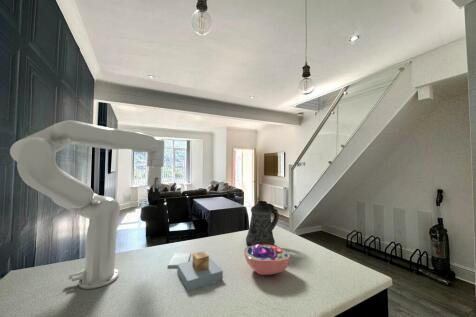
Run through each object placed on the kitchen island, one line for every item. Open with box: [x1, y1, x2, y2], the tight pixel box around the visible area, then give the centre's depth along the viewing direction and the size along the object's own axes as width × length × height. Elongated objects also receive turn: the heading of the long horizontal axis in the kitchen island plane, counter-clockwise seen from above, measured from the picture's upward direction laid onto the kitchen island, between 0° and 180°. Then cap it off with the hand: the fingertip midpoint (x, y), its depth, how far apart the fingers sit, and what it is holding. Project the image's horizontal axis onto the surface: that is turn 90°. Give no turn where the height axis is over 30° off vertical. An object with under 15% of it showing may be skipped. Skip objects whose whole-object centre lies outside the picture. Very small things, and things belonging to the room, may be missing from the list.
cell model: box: [243, 244, 291, 276], centre depth 83 cm, size 17×20×11 cm
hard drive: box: [167, 252, 191, 269], centre depth 91 cm, size 2×8×12 cm
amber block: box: [192, 250, 210, 272], centre depth 79 cm, size 5×5×5 cm
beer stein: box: [245, 200, 280, 247], centre depth 113 cm, size 16×19×25 cm
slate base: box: [176, 257, 224, 292], centre depth 79 cm, size 14×14×4 cm
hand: (154, 198), depth 95 cm, fingers open, 9 cm apart
